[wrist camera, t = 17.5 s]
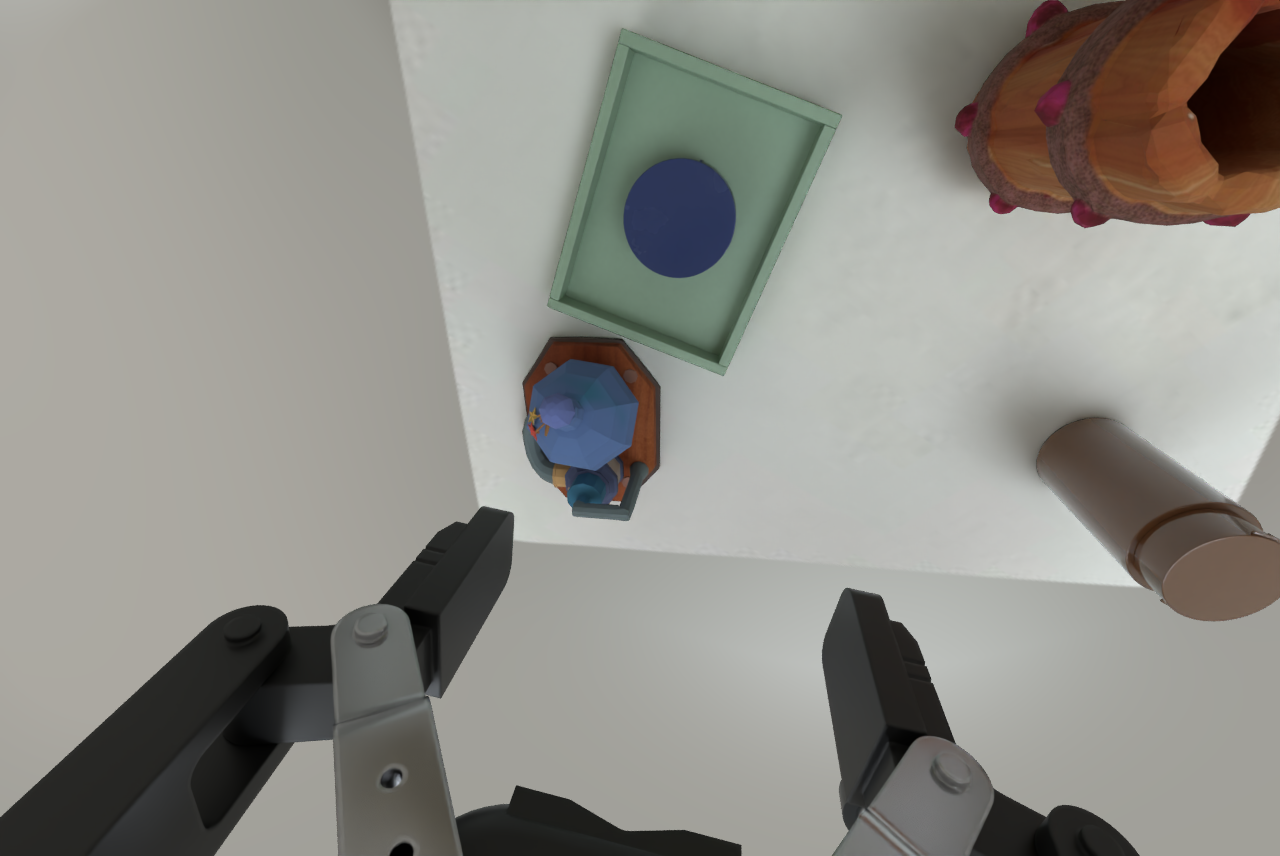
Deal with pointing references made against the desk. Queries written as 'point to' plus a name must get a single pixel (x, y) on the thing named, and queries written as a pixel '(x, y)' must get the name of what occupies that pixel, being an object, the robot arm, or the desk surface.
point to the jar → (1162, 521)
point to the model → (592, 424)
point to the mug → (1135, 113)
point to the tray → (703, 130)
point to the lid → (680, 217)
